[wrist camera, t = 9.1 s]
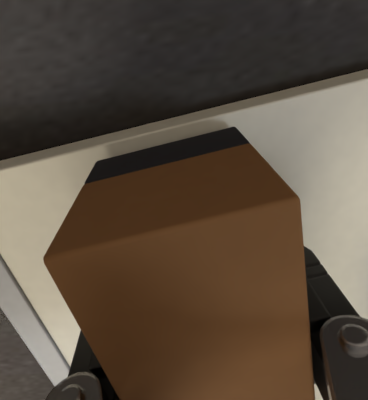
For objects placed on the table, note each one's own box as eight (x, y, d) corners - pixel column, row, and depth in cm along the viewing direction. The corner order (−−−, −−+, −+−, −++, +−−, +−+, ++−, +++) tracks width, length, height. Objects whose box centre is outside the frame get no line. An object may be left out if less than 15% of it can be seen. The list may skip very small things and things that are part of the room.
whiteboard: (-54, 173, 10) (-82, 190, 9) (614, 6, 9) (680, 1, 8) (103, 425, 17) (99, 453, 16) (499, 342, 16) (526, 366, 15)
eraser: (174, 364, 13) (180, 512, 9) (95, 160, 9) (38, 260, 5) (270, 343, 13) (322, 484, 9) (235, 125, 9) (301, 196, 5)
